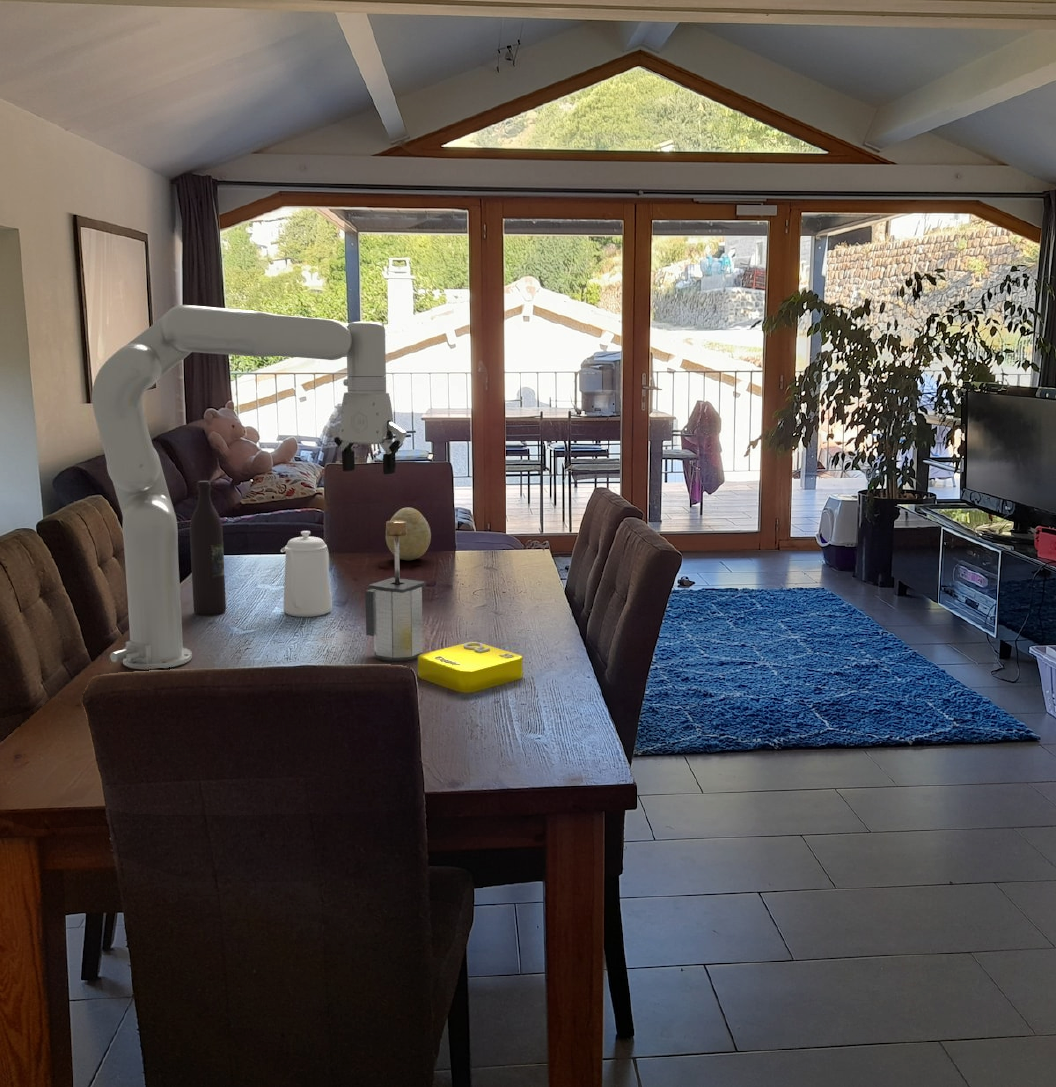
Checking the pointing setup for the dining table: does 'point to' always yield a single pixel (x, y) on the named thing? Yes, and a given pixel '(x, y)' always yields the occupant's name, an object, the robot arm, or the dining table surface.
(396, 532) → the plunger
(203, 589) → the wine bottle
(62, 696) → the dining table surface
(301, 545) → the coffeepot
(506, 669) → the element tile
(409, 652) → the grey faceted container
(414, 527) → the fossilized egg
